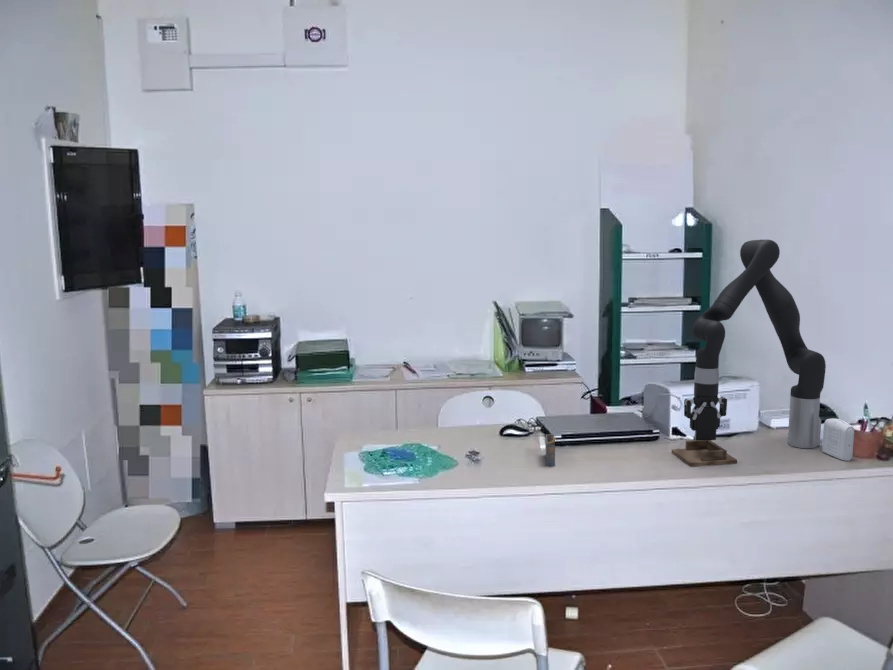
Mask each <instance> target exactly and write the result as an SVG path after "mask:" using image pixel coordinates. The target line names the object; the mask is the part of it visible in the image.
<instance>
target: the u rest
mask: <svg viewBox="0 0 893 670" xmlns="http://www.w3.org/2000/svg"><path fill="white" fill-rule="evenodd" d="M684 447H685V448H676V449H675V448H674V449H673V448H672V449H671V454H672V455H674V456H675V457H676V458H677V459H679V460H681V461H682V462H683V463H685V464H686V465H687V466H689V468H693V467H706V466H718V465H720V466H721V465H732V464H734V465H735V464H738V459H736V458H735V457H733V456H732V455H730V454H729V453H728V451H727V450H726V449H725V448H723V447H722V446H720V445H719V444H717V443H715V442H714V441H713V440H695V439H694V440H691V439H690V440H685V446H684Z"/></svg>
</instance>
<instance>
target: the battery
mask: <svg viewBox="0 0 893 670" xmlns="http://www.w3.org/2000/svg"><path fill="white" fill-rule="evenodd" d="M716 408H717V407H716ZM716 408H715V407H711V406H708V407H704V408H703V410H702V411H701V413H700V414H697V418H696V419H695V420H696V431H694V440H711V441H716V440H717V430H718V429H717V409H718V408H717V409H716ZM695 410H698V408H697V407H696V408H695Z"/></svg>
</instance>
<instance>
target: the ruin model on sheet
mask: <svg viewBox="0 0 893 670" xmlns="http://www.w3.org/2000/svg"><path fill="white" fill-rule="evenodd" d="M554 435H555V434H545V460H546V467H547V466H548V467H553V466H555V467H556V443H555V442H556V441H557V437H556V436H554ZM553 468H554V467H553Z"/></svg>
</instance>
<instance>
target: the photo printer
mask: <svg viewBox="0 0 893 670" xmlns="http://www.w3.org/2000/svg"><path fill="white" fill-rule="evenodd" d="M822 432H823V435H822V447H821V448H822V449H821V450H822V451H821V452H823V453H824V454H827V455H829V456H831V457H833V458H836V459H839V460H842V461H845V462H848V461H851V460H852V459H853V454H854V453H853V450H854V440H855V429H854V427H853V425H851V424H850V423H848V422H846V421H844V420H843V419H840V418H835V417H834V418H827V419H825V421H824V423H823V431H822Z"/></svg>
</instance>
